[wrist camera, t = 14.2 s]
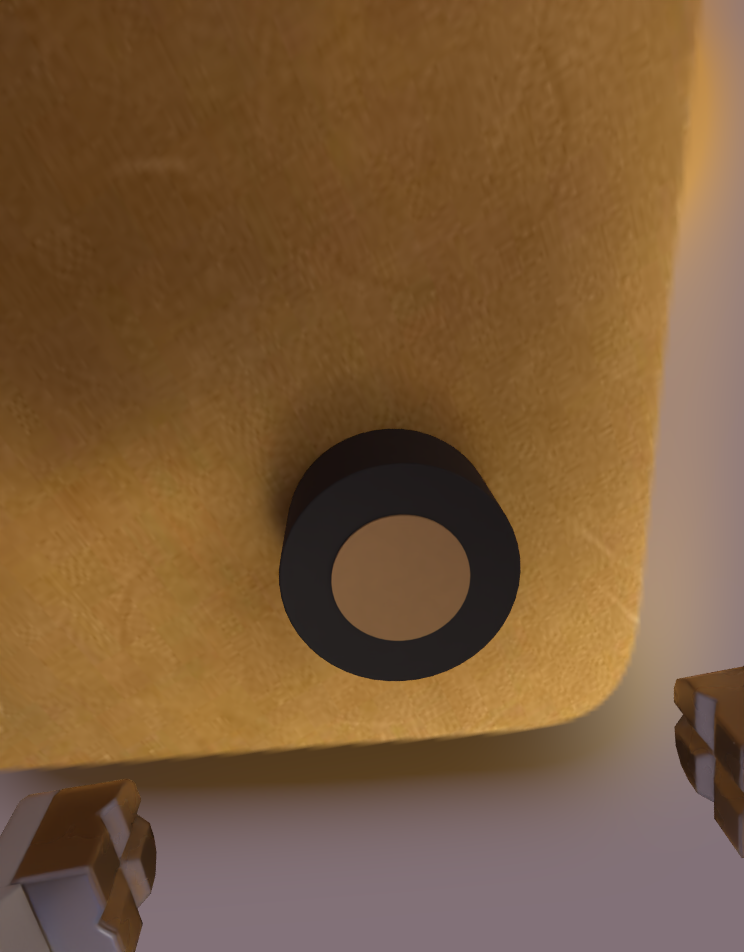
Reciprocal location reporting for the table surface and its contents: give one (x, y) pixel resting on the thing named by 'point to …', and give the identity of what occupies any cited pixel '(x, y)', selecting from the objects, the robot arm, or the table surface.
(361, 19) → the table surface
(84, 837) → the robot arm
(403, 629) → the tape
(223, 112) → the table surface
